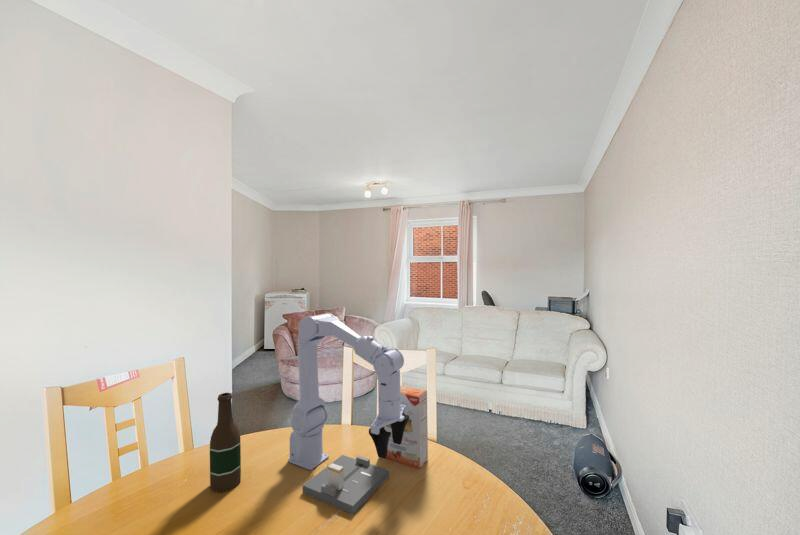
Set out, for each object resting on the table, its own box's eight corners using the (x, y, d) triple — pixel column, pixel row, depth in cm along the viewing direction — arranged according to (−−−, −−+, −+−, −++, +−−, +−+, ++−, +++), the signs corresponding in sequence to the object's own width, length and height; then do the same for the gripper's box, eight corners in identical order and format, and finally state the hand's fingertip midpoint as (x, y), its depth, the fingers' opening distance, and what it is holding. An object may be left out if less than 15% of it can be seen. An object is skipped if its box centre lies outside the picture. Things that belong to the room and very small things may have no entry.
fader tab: (328, 486, 86) (327, 466, 86) (332, 482, 88) (332, 463, 88) (339, 490, 85) (339, 470, 85) (343, 486, 86) (343, 467, 86)
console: (302, 493, 87) (302, 479, 87) (342, 461, 101) (342, 449, 101) (353, 514, 79) (352, 499, 79) (388, 477, 93) (388, 464, 93)
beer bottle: (246, 483, 92) (245, 393, 92) (215, 497, 86) (214, 402, 86) (235, 471, 97) (234, 387, 97) (205, 484, 91) (204, 394, 91)
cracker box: (378, 457, 103) (377, 388, 103) (388, 448, 108) (387, 382, 108) (419, 470, 96) (418, 396, 96) (428, 459, 102) (427, 389, 102)
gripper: (387, 410, 80) (388, 468, 80) (415, 391, 93) (416, 441, 93) (363, 405, 83) (364, 460, 83) (393, 386, 96) (393, 435, 96)
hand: (390, 450), depth 88 cm, fingers open, 7 cm apart
